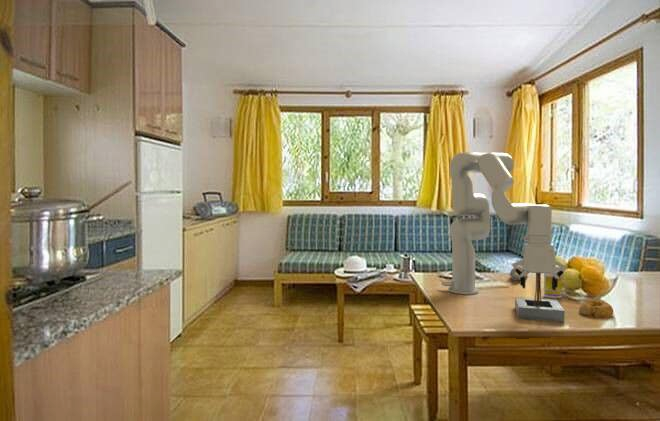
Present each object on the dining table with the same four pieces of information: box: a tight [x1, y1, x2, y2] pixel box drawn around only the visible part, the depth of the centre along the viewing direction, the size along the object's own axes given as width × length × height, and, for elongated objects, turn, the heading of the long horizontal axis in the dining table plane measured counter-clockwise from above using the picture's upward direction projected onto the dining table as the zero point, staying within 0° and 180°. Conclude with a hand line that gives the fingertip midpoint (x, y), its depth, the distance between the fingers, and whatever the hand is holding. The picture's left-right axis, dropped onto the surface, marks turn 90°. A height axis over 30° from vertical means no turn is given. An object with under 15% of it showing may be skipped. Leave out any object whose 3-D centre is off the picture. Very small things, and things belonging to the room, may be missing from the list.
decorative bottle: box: [509, 264, 530, 282], centre depth 218 cm, size 26×8×7 cm, turn 149°
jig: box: [514, 296, 565, 323], centre depth 156 cm, size 14×15×4 cm
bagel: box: [578, 299, 614, 319], centre depth 157 cm, size 10×11×5 cm
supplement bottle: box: [543, 265, 563, 300], centre depth 182 cm, size 7×7×13 cm
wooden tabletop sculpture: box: [533, 273, 543, 307], centre depth 156 cm, size 6×5×20 cm
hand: (538, 288), depth 156 cm, fingers open, 9 cm apart
